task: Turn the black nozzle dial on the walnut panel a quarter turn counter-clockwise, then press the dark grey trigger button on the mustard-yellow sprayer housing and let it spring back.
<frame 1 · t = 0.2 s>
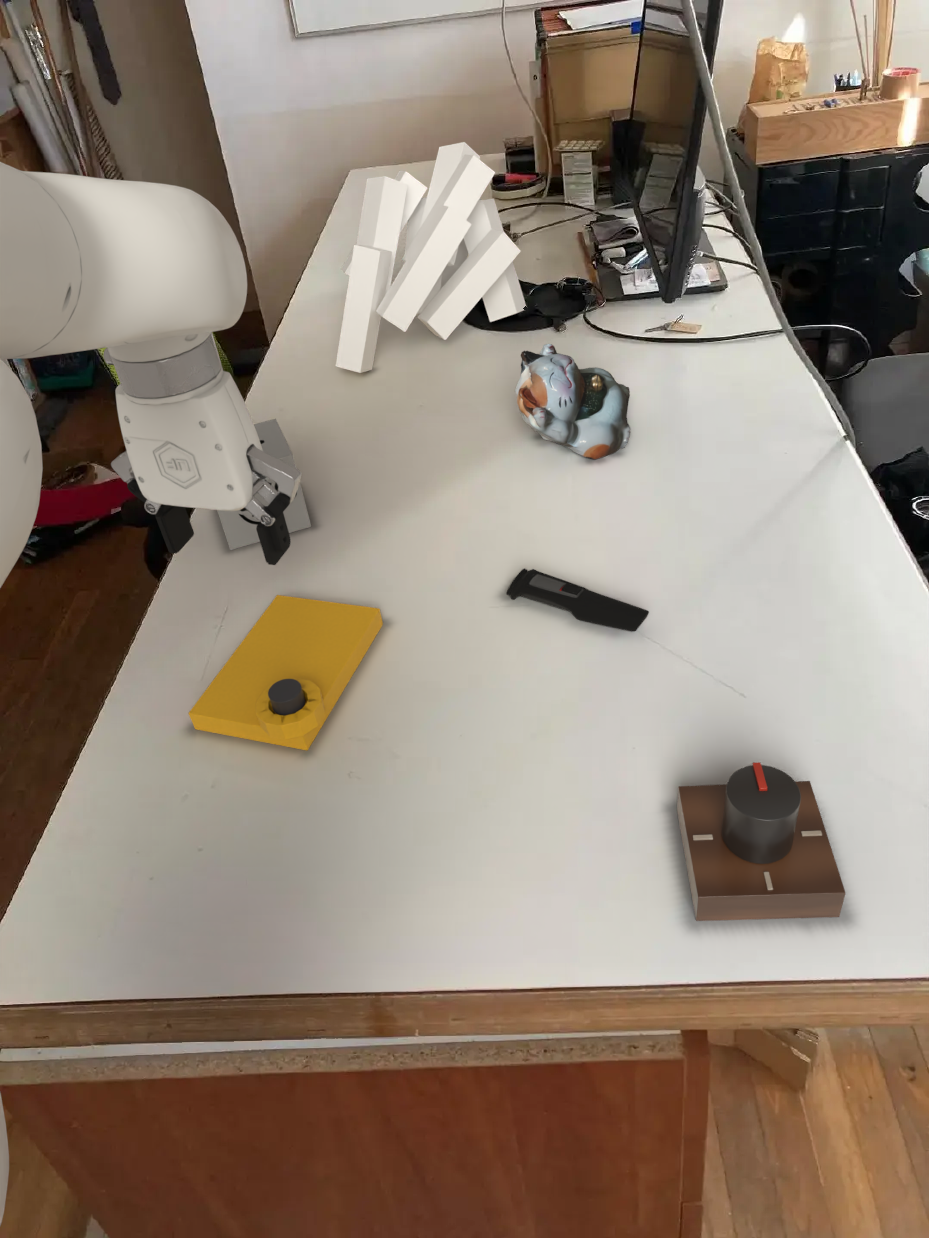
hand: (230, 549, 80), 17 cm above the table, tool pointing down, fingers open, 9 cm apart
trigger: (286, 697, 83), point 4 cm above the table, slide at 0.1 cm
pile of blocks: (436, 336, 153), on the table
electric trimmer: (575, 610, 95), on the table
dial panel: (753, 860, 70), on the table
nozzle dial: (760, 812, 67), point 6 cm above the table, hinge at 0.0°
lucky cat figurine: (576, 441, 122), on the table
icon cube: (263, 519, 115), on the table
sprayer housing: (293, 674, 92), on the table
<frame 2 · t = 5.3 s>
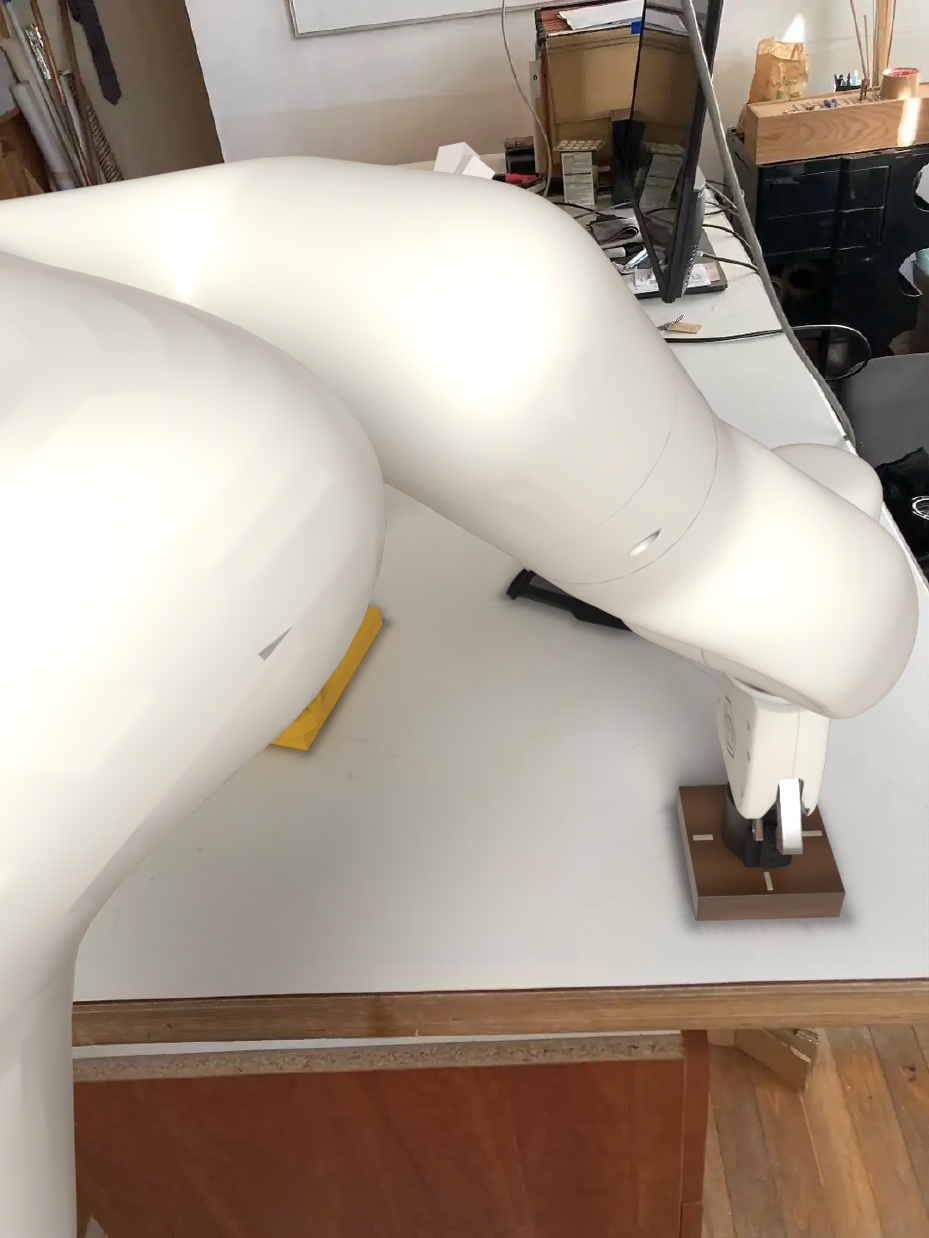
hand: (757, 828, 68), 4 cm above the table, tool pointing down, fingers closed on nozzle dial, 5 cm apart
nozzle dial: (760, 812, 67), point 6 cm above the table, hinge at 0.1°, touching gripper
everything else where it was.
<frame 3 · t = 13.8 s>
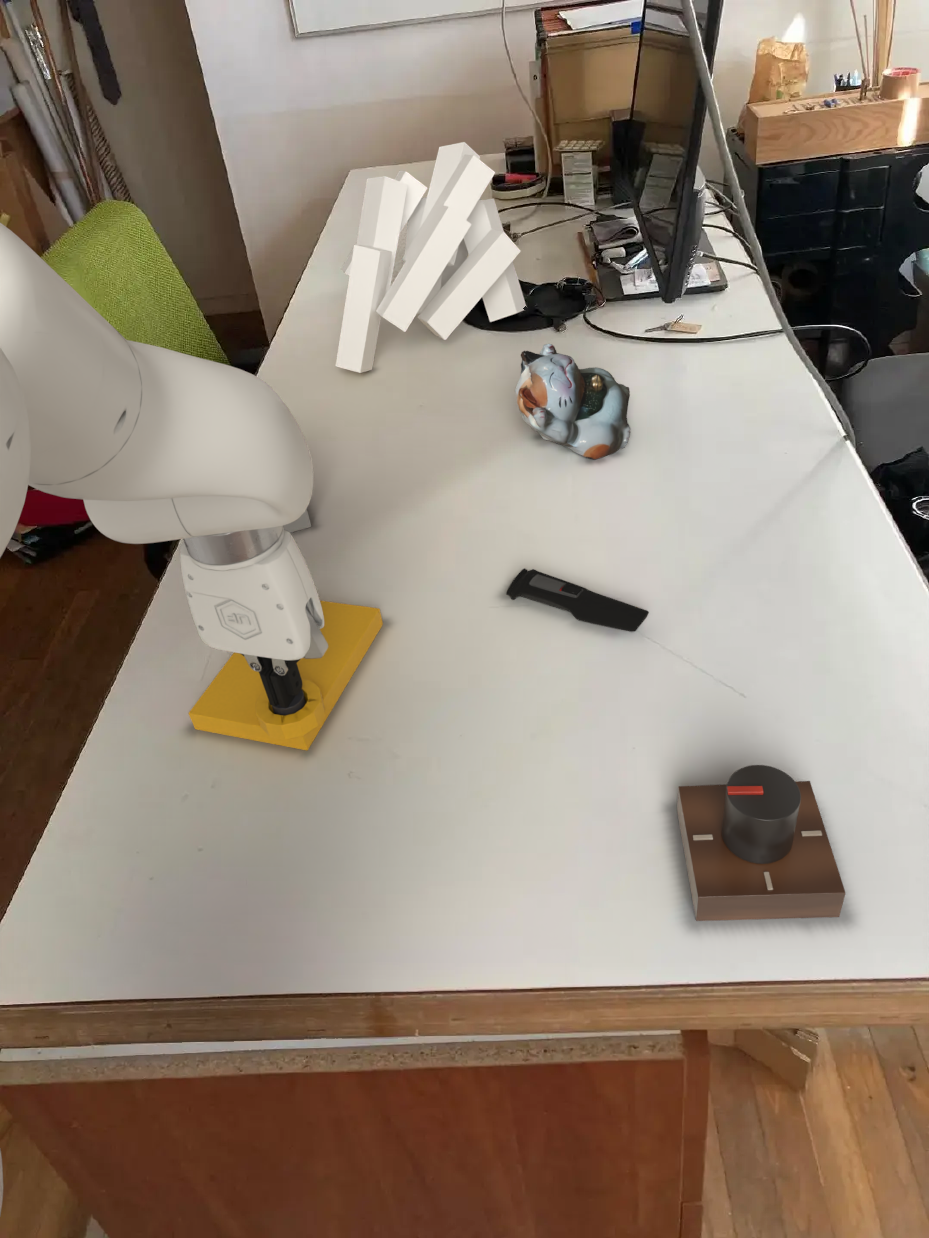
hand: (286, 695, 83), 5 cm above the table, tool pointing down, fingers closed
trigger: (288, 703, 84), point 4 cm above the table, slide at -0.7 cm, touching gripper
nozzle dial: (760, 812, 67), point 6 cm above the table, hinge at 87.6°
everything else where it was.
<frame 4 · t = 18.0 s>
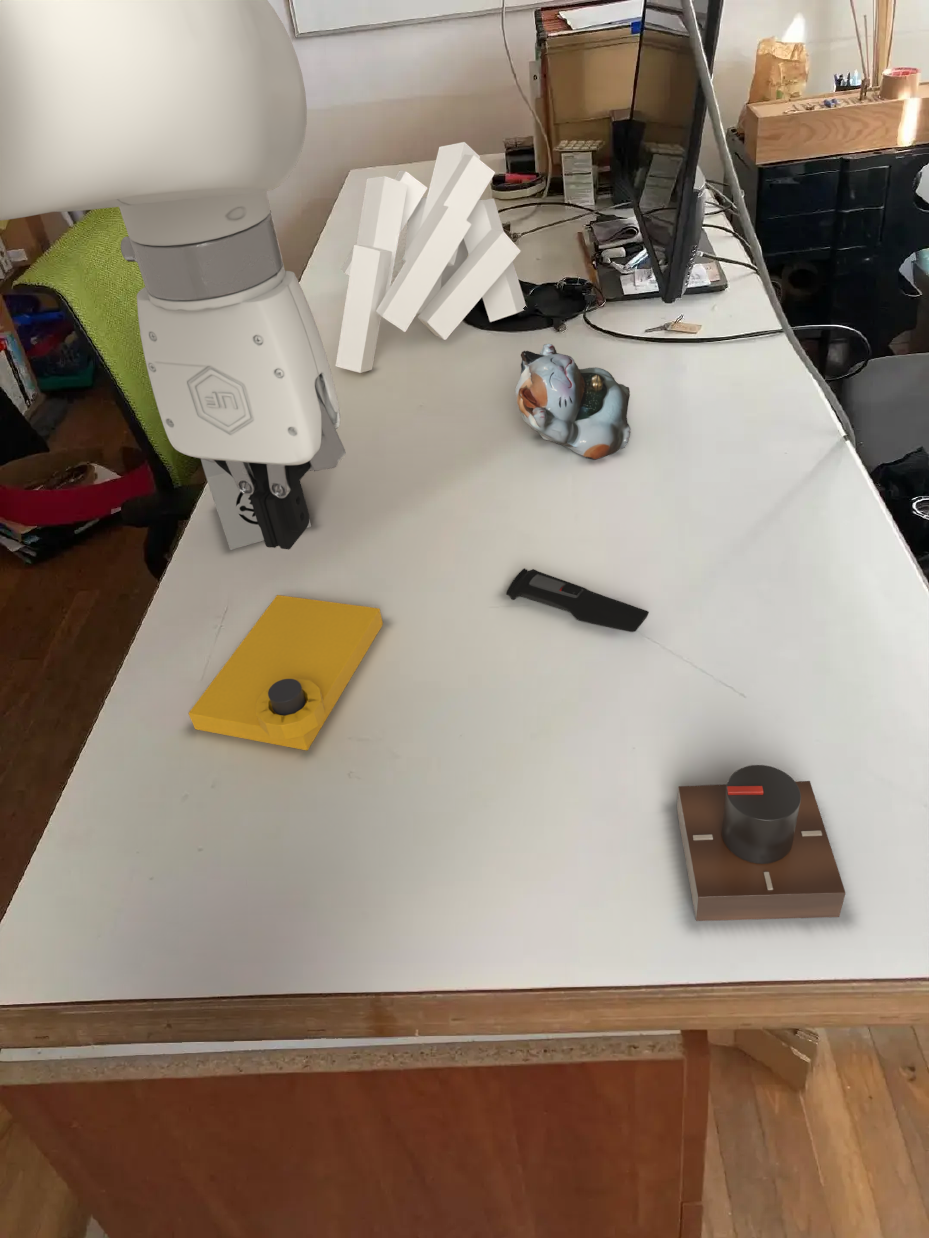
hand: (288, 536, 62), 27 cm above the table, tool pointing down, fingers closed
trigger: (286, 697, 83), point 4 cm above the table, slide at 0.1 cm
everything else where it was.
at the end: nozzle dial at +88° (first picture: +0°); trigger pushed in 1.1 cm at the most during the clip, back to where it started at the end; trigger slide at 0.1 cm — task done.
